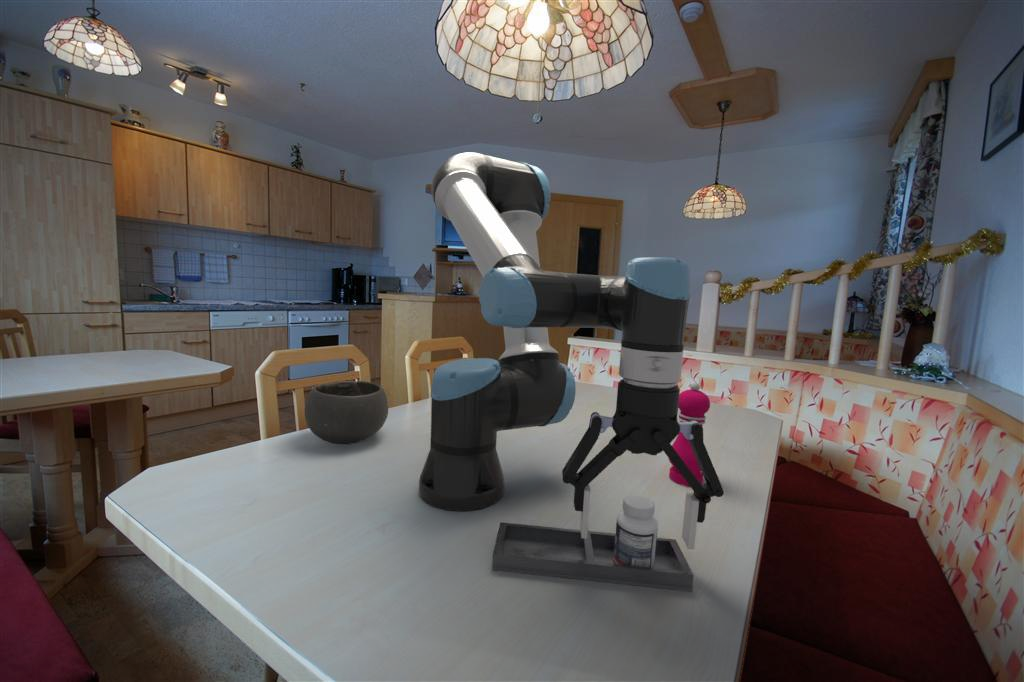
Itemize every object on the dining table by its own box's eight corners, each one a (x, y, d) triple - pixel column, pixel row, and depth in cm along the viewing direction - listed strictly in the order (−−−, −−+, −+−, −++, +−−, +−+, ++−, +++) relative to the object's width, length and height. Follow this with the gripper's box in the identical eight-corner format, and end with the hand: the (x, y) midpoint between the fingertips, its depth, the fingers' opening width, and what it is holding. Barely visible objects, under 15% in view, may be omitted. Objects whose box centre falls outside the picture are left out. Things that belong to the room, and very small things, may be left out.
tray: (492, 569, 54) (492, 553, 54) (499, 536, 62) (500, 522, 62) (691, 591, 52) (693, 575, 52) (674, 554, 60) (675, 539, 59)
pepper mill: (709, 490, 80) (720, 387, 78) (669, 485, 82) (679, 384, 80) (700, 474, 87) (710, 380, 85) (664, 470, 89) (672, 377, 87)
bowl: (349, 423, 109) (349, 375, 108) (404, 436, 101) (405, 385, 100) (286, 444, 93) (285, 388, 92) (345, 461, 85) (345, 400, 84)
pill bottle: (623, 546, 60) (628, 487, 59) (659, 562, 57) (666, 500, 56) (606, 563, 56) (611, 500, 55) (644, 582, 53) (650, 515, 52)
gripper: (550, 380, 51) (540, 544, 53) (766, 395, 49) (745, 565, 51) (550, 369, 58) (542, 514, 61) (737, 382, 56) (721, 531, 58)
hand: (635, 538), depth 56 cm, fingers open, 13 cm apart
